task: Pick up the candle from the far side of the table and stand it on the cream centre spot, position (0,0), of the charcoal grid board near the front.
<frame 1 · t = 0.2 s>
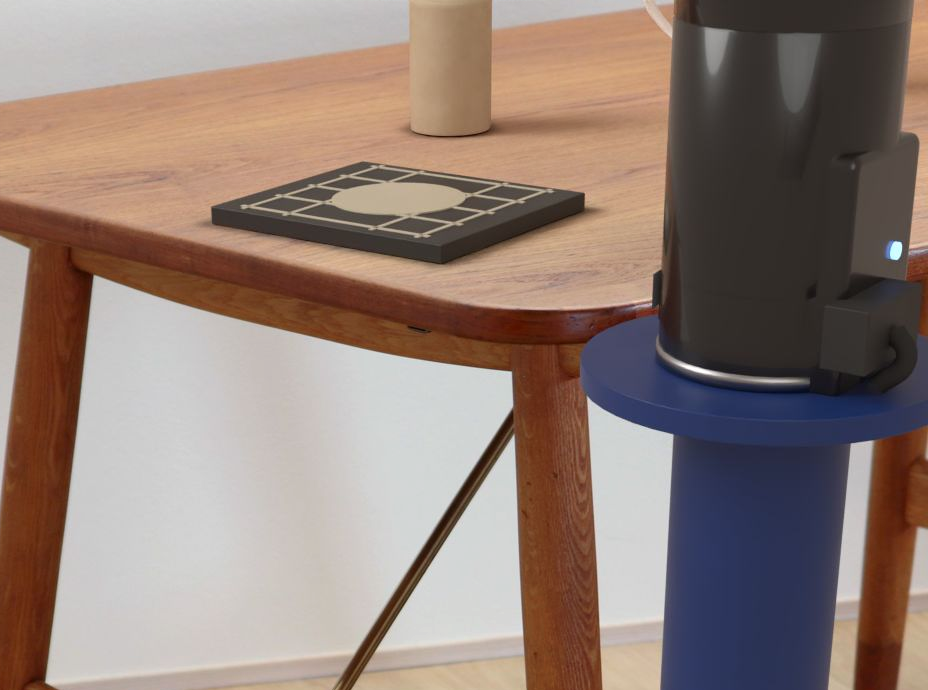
board: (398, 216, 109), on the table
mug: (716, 95, 141), on the table
candle: (450, 131, 132), on the table
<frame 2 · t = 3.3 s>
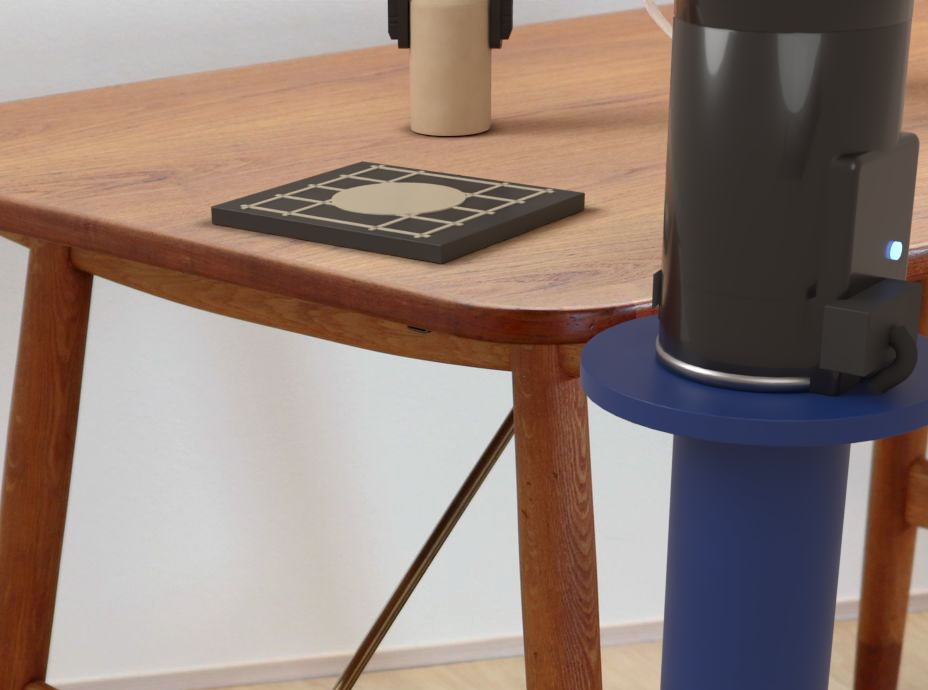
hand: (450, 46, 129), 6 cm above the table, tool pointing down, fingers closed on candle, 5 cm apart
candle: (450, 131, 132), on the table, touching gripper
everything else where it was.
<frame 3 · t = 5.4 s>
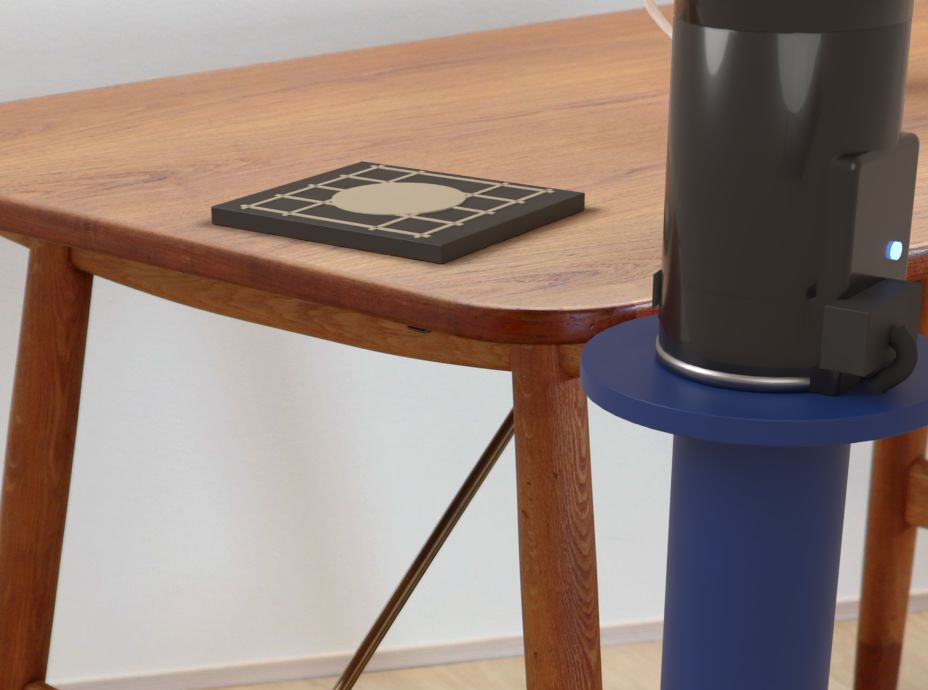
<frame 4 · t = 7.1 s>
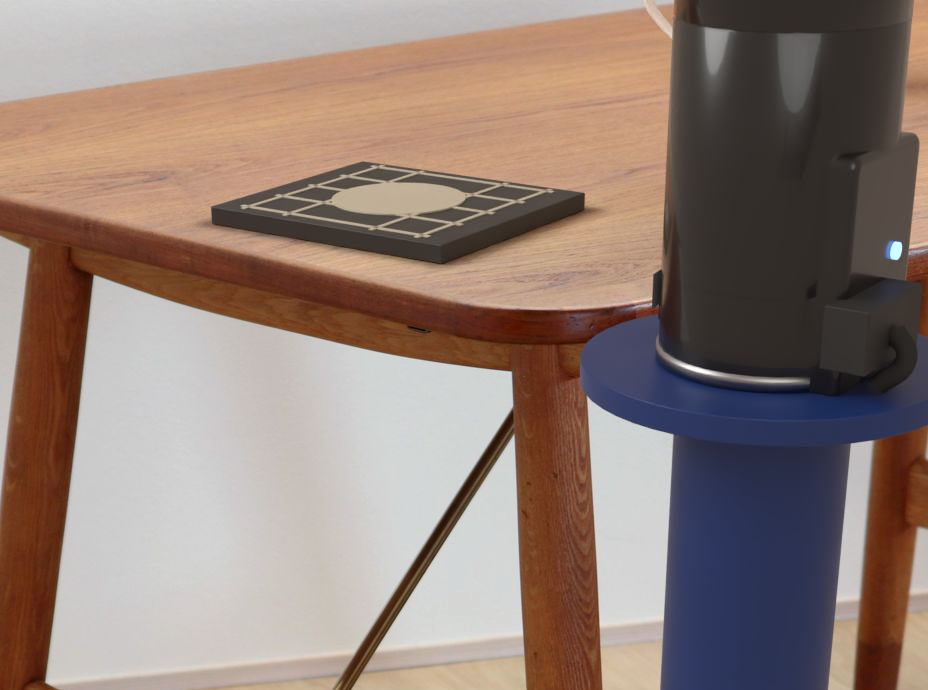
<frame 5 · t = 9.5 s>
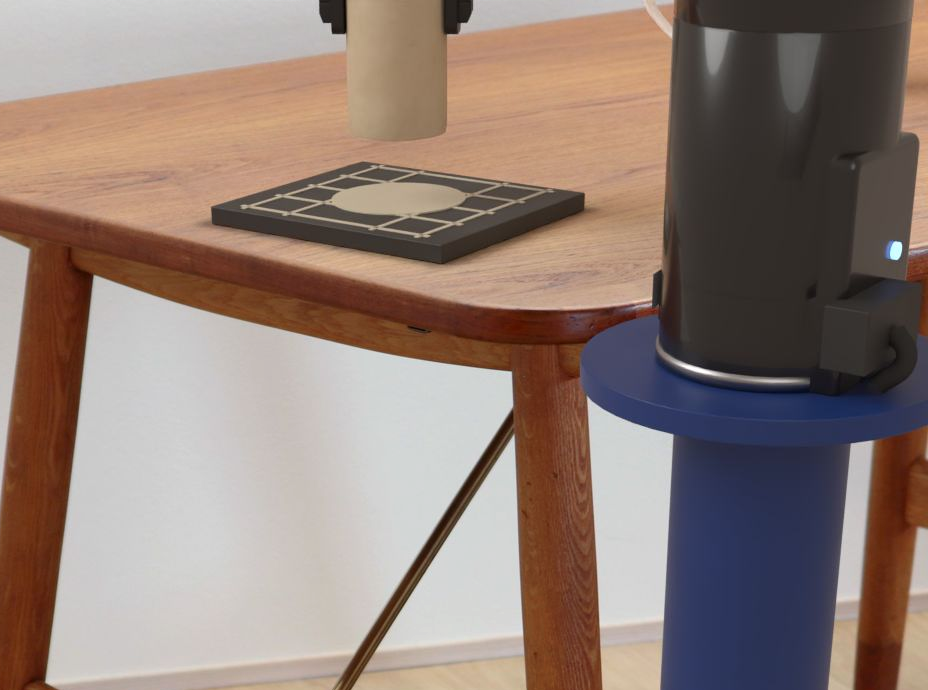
hand: (396, 31, 105), 10 cm above the table, tool pointing down, fingers closed on candle, 5 cm apart
candle: (397, 136, 107), point 5 cm above the table, touching gripper
everything else where it was.
when the fingers open (7 cm above the table, at t = 11.1 s): candle stays where it is, resting on board.
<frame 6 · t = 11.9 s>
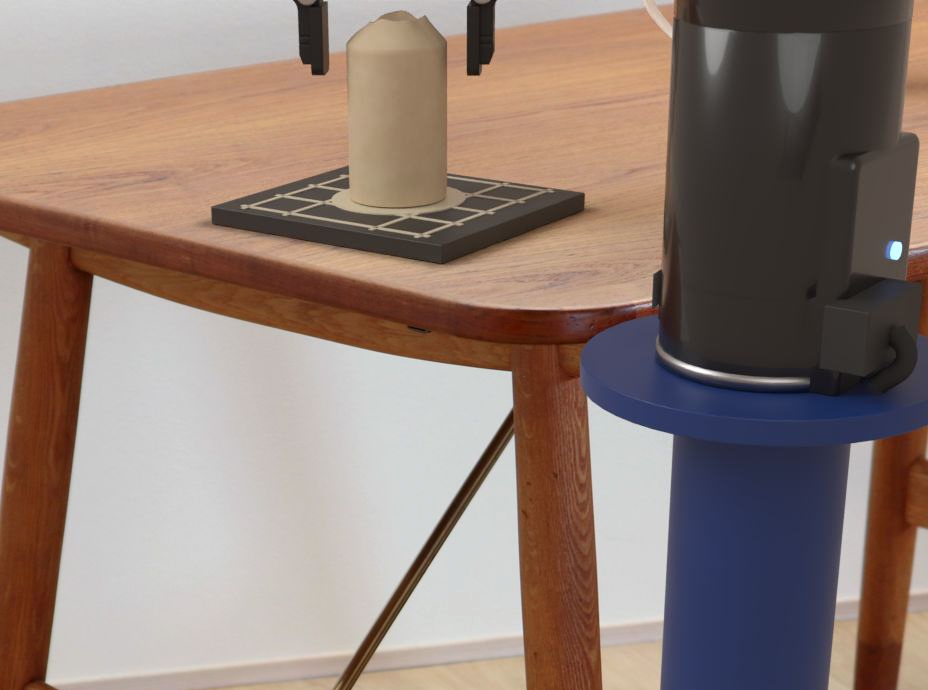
hand: (397, 73, 106), 8 cm above the table, tool pointing down, fingers open, 8 cm apart
candle: (398, 200, 109), point 1 cm above the table, touching board
everything else where it was.
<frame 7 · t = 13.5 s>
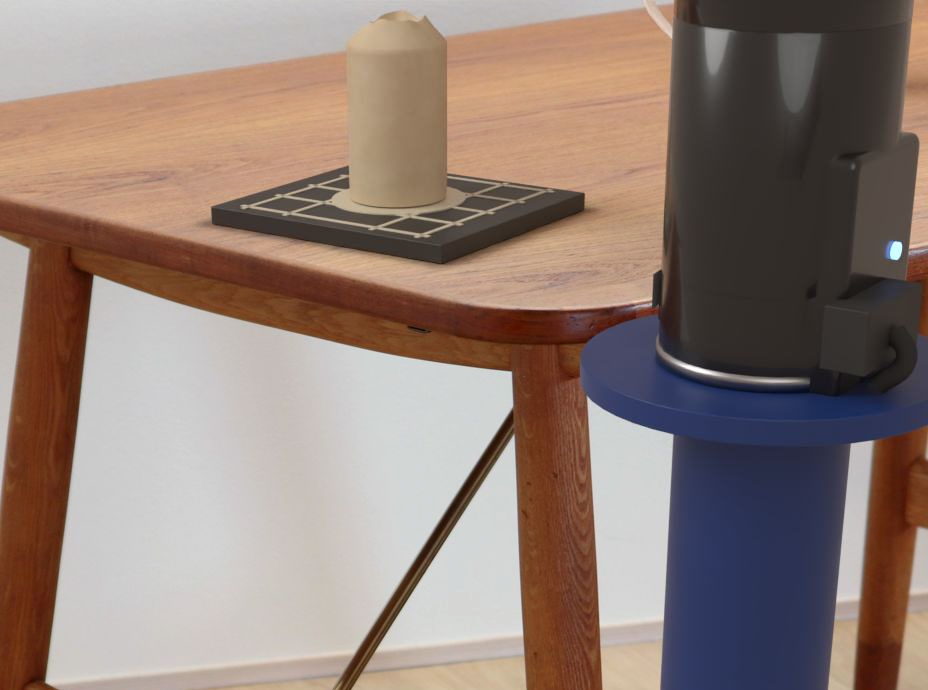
nothing on the table moved.
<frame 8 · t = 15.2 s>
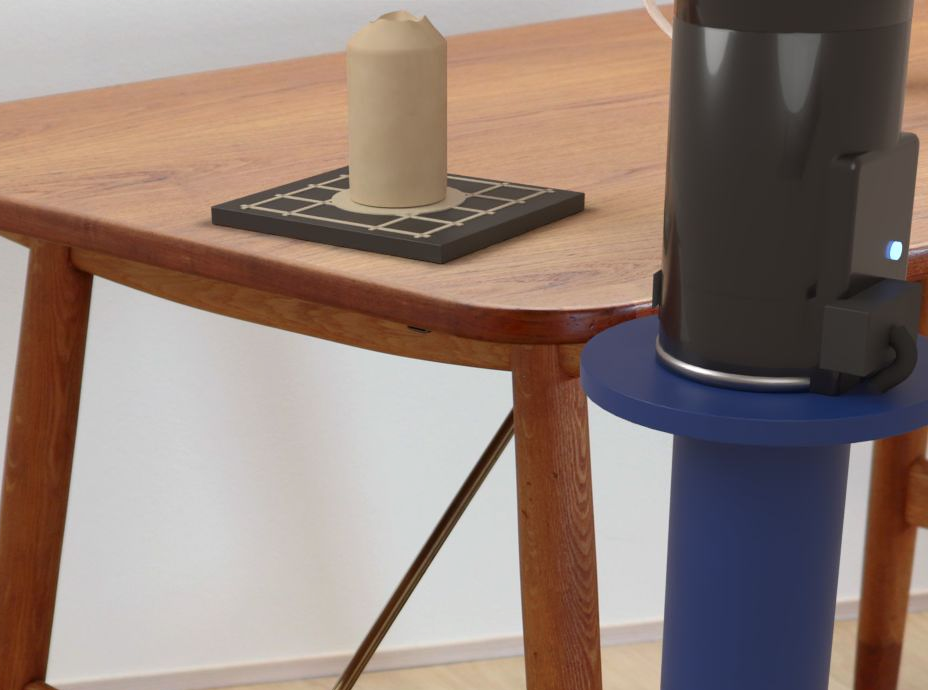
nothing on the table moved.
at the end: candle 0.0 cm off-centre on the board, point 0.9 cm above the board's base; candle tilted 0° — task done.
